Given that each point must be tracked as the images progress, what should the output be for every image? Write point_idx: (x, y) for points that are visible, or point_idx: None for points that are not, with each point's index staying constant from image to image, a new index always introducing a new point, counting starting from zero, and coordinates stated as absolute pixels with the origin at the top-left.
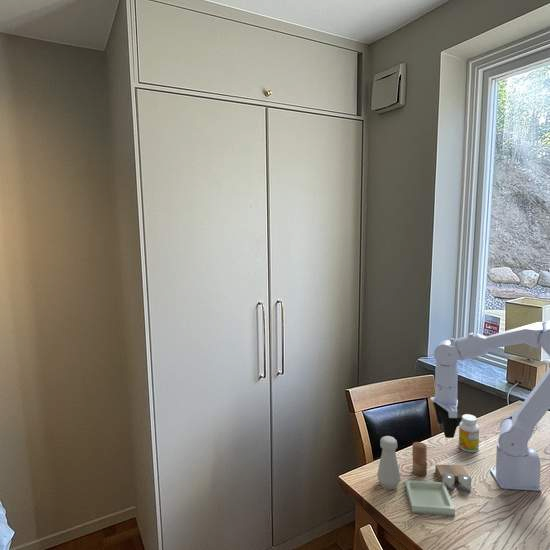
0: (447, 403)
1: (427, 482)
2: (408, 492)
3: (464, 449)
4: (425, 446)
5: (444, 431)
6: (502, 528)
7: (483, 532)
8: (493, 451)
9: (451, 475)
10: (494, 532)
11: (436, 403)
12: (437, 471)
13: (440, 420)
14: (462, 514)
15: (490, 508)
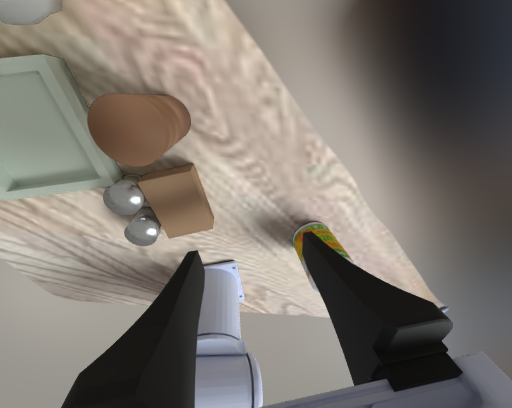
0: None
1: (82, 139)
2: None
3: (297, 231)
4: (134, 162)
5: (175, 272)
6: (55, 261)
7: (12, 235)
8: (299, 268)
9: (133, 209)
10: (30, 250)
11: (366, 323)
12: (173, 171)
13: (307, 249)
14: (44, 206)
15: (107, 251)
